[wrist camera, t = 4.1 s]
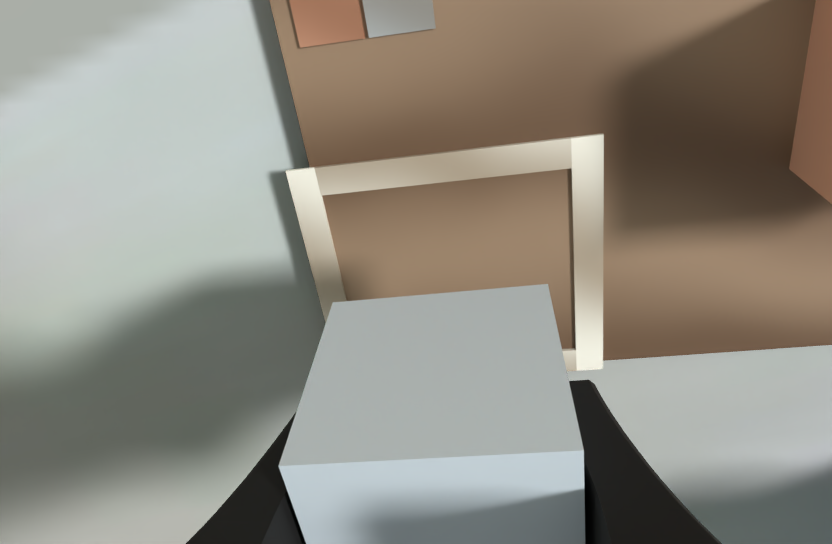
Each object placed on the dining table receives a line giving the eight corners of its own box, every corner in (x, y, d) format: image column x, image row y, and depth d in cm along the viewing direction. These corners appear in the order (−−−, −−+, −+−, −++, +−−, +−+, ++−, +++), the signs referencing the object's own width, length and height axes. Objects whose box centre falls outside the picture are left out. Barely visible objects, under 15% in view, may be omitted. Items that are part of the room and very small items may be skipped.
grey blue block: (555, 443, 15) (586, 632, 11) (370, 454, 16) (339, 636, 12) (547, 283, 13) (583, 450, 9) (332, 302, 13) (278, 465, 9)
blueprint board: (919, 332, 19) (934, 346, 18) (345, 372, 21) (342, 386, 20) (1090, -219, 12) (1123, -225, 12) (231, -73, 15) (221, -71, 14)
